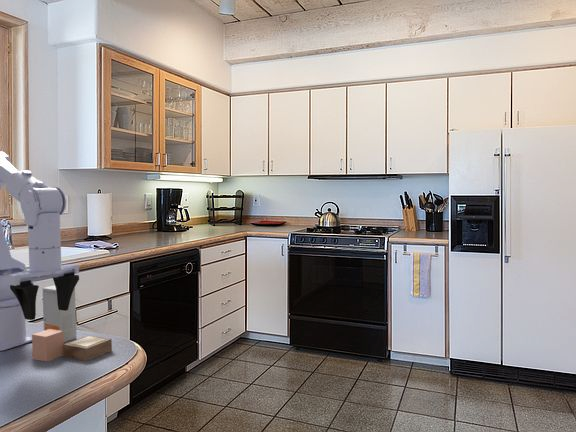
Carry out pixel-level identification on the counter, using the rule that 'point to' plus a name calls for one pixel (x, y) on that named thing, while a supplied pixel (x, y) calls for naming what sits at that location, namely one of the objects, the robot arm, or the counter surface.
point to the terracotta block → (47, 344)
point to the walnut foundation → (87, 347)
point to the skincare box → (59, 314)
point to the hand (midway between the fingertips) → (47, 314)
